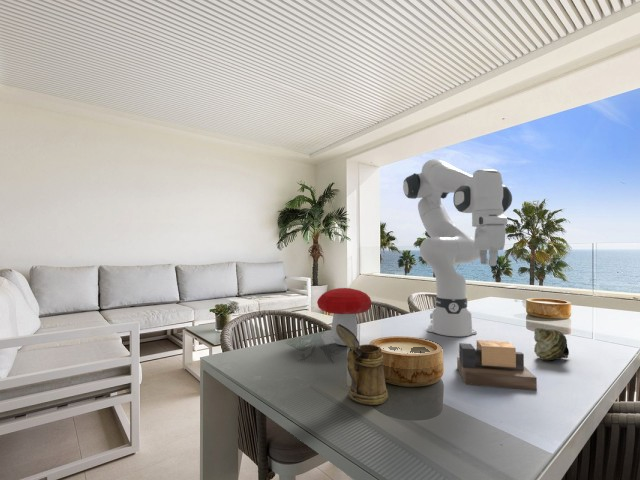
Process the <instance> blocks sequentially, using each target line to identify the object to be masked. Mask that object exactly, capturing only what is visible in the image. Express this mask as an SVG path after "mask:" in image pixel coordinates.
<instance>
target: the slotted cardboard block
mask: <svg viewBox="0 0 640 480" xmlns="http://www.w3.org/2000/svg"><path fill="white" fill-rule="evenodd" d="M475 341H476V350H479V351H480V352H481V365H485V366H499V367H514V368H516V352H517V351H516V350H517V349H516V346H514V345H513V344H512V343H511V342H509V341H501V340H500V341H498V340H481V339H477V340H475Z"/></svg>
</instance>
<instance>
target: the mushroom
mask: <svg viewBox="0 0 640 480" xmlns="http://www.w3.org/2000/svg"><path fill="white" fill-rule="evenodd" d="M316 303H317V307H318V308H319V309H320V310H321V311H323V312H325V313H328V314H333V317H332V322H331V338H332V339H333V341H334V342H335V343H336V344H337V345H340V346H347V345H346V344H345V343H344V342H343V341H342V340H341V339H340V337H339V336H338V334H337V332H336V326H337V325H338V324H340V325H342V326H344V327H346V328H347V329H349V330H350V331H351V332H352V333H353V334H354V335H355V336H356V338H357V339H358V322H357V316H356V315H357V314H358V315H359V314H362V313H366V312H367V311H369V310H370V308H371V304H372V299H371V297H370V296H369V295H368V294H367V293H366V292H364V291H361V290H358V289H354V288H351V287H338V288H333V289H329V290H327V291H325V292H323V293H322V294H321V295H320V296H319V298H317V302H316Z"/></svg>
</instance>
